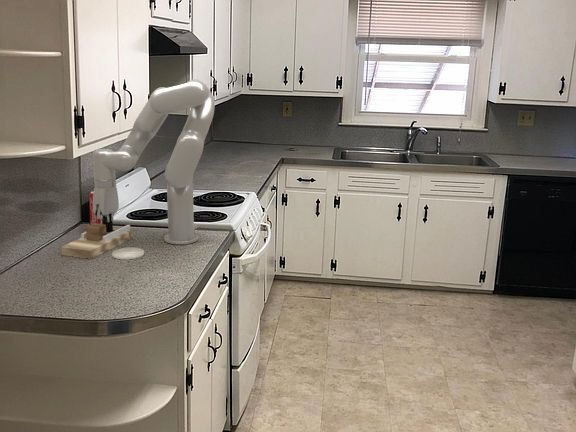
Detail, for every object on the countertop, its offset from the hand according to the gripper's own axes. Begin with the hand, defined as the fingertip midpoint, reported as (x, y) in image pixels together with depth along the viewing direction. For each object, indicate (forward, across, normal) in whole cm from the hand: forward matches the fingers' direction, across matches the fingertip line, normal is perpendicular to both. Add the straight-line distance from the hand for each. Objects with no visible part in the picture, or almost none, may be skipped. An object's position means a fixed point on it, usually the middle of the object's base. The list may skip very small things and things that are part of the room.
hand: (108, 231), depth 241 cm
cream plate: (+4, +10, +15) cm, 19 cm away
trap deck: (+4, +6, 0) cm, 7 cm away
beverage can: (+4, -12, -13) cm, 18 cm away
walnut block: (+1, +7, 0) cm, 7 cm away
